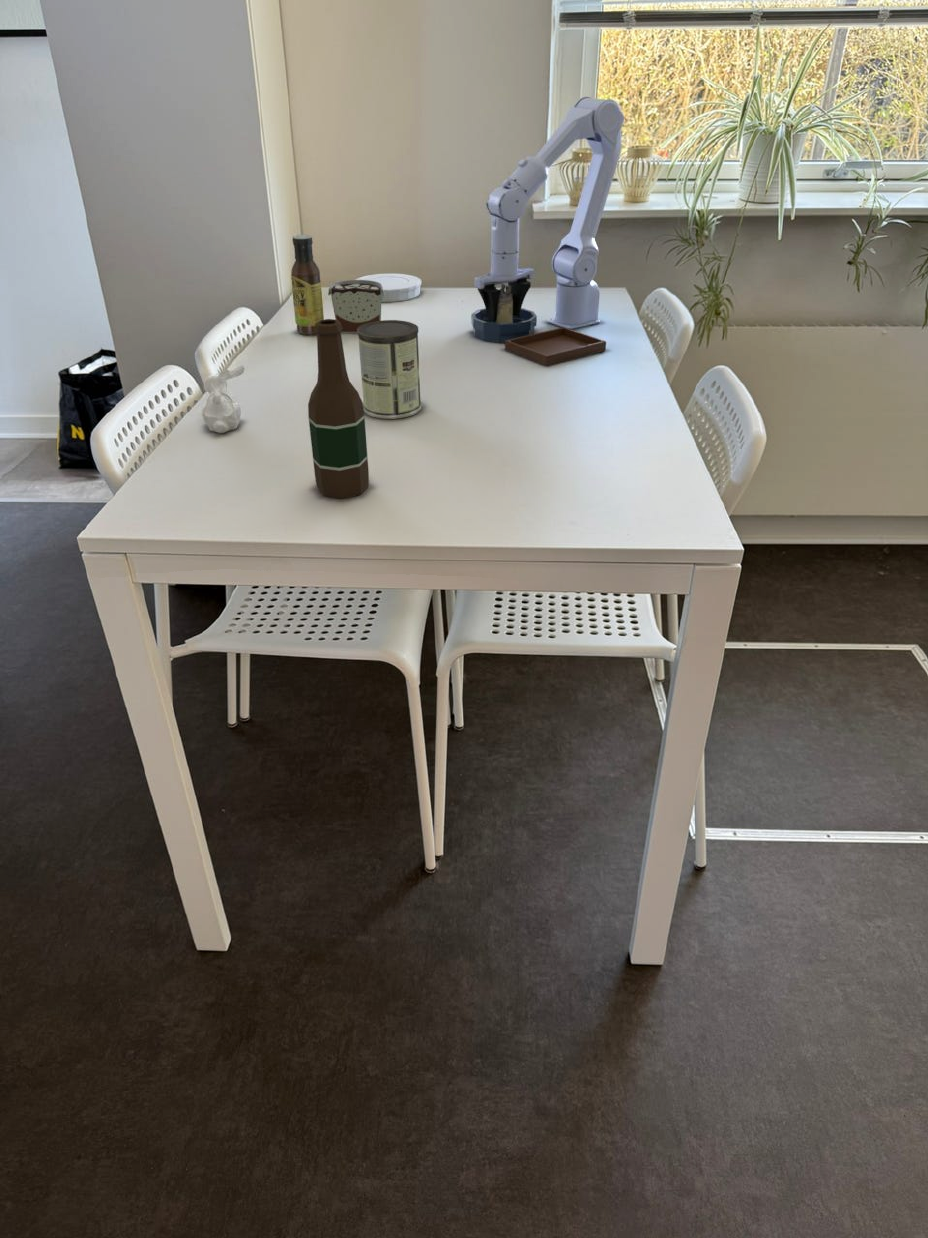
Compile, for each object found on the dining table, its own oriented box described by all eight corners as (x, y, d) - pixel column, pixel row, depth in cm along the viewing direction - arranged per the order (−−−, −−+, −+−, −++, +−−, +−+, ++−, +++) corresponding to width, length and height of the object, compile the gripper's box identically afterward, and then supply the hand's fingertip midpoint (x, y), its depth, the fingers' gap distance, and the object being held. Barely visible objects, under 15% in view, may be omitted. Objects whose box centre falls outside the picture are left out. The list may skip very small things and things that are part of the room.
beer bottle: (317, 477, 133) (300, 314, 120) (369, 475, 134) (357, 312, 120) (314, 500, 127) (295, 330, 113) (369, 498, 127) (357, 328, 114)
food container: (391, 325, 200) (388, 279, 195) (386, 333, 195) (383, 286, 190) (337, 324, 201) (333, 278, 196) (331, 332, 196) (327, 285, 191)
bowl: (508, 321, 203) (508, 303, 200) (548, 335, 193) (548, 316, 191) (459, 331, 196) (459, 313, 194) (498, 346, 187) (498, 327, 184)
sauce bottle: (292, 330, 197) (281, 234, 186) (317, 326, 200) (308, 231, 189) (304, 337, 193) (293, 240, 182) (330, 333, 196) (321, 236, 185)
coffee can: (377, 395, 162) (372, 317, 155) (429, 402, 160) (427, 322, 152) (353, 415, 154) (346, 333, 146) (408, 422, 152) (404, 339, 144)
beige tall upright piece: (510, 338, 191) (511, 290, 186) (492, 338, 192) (493, 290, 186) (513, 329, 197) (514, 282, 192) (496, 328, 198) (496, 281, 192)
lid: (330, 295, 223) (329, 282, 221) (392, 281, 234) (392, 270, 233) (373, 308, 212) (372, 295, 211) (435, 293, 224) (435, 281, 222)
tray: (563, 336, 193) (563, 326, 192) (605, 350, 184) (606, 341, 183) (504, 349, 185) (504, 340, 184) (546, 366, 176) (546, 356, 175)
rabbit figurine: (208, 412, 156) (199, 357, 151) (252, 409, 157) (244, 355, 152) (203, 438, 146) (193, 380, 141) (250, 435, 147) (241, 378, 142)
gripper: (519, 243, 191) (518, 308, 199) (465, 252, 184) (466, 319, 192) (541, 249, 187) (538, 315, 194) (486, 258, 179) (485, 326, 187)
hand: (503, 317), depth 193 cm, fingers closed on beige tall upright piece, 6 cm apart
